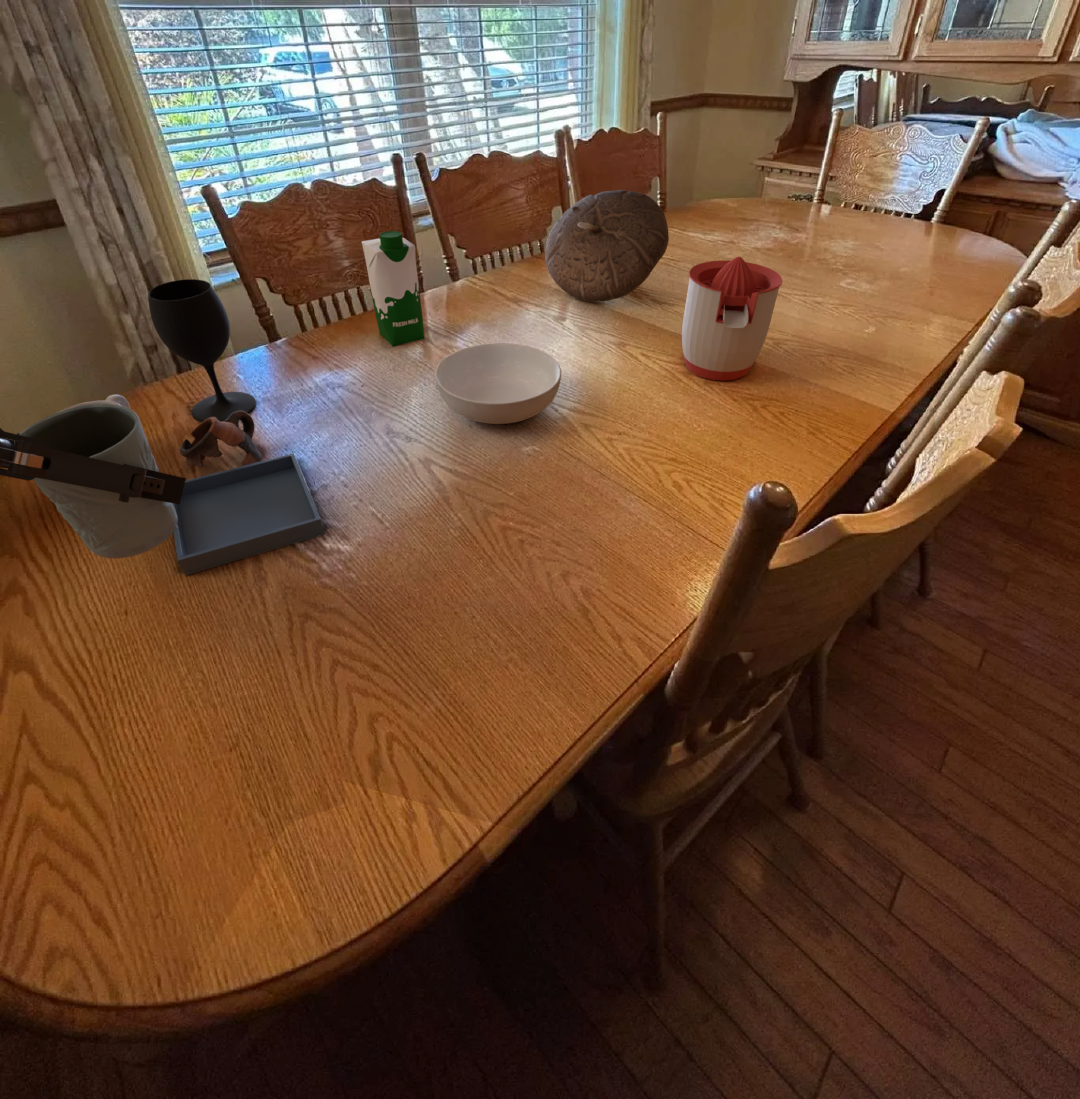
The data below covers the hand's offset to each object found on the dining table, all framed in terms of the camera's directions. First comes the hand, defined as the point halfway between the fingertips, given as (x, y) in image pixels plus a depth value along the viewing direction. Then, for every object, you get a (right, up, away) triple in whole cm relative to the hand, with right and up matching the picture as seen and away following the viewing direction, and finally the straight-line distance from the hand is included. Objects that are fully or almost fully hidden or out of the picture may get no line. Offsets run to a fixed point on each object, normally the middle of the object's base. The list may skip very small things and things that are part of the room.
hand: (137, 480), depth 64 cm
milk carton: (+13, +36, +65) cm, 76 cm away
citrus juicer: (+74, +27, +54) cm, 96 cm away
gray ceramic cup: (-1, -5, +1) cm, 5 cm away
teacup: (-24, +7, +32) cm, 41 cm away
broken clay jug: (-6, +6, +32) cm, 33 cm away
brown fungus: (+56, +55, +85) cm, 116 cm away
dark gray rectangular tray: (+1, -3, +22) cm, 22 cm away
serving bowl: (+34, +17, +44) cm, 58 cm away
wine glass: (-13, +17, +43) cm, 48 cm away
